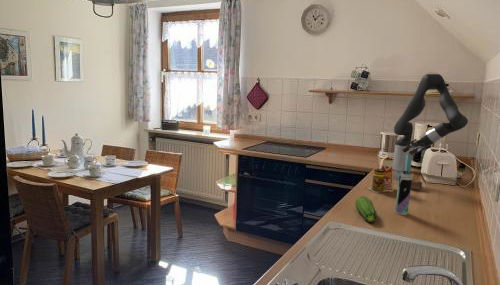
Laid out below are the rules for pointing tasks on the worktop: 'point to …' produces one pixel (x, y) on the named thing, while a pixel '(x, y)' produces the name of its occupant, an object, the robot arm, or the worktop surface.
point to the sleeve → (397, 174)
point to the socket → (416, 185)
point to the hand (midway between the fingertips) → (407, 152)
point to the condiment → (378, 181)
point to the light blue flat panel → (407, 164)
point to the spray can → (403, 193)
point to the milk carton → (387, 173)
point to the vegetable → (366, 208)
